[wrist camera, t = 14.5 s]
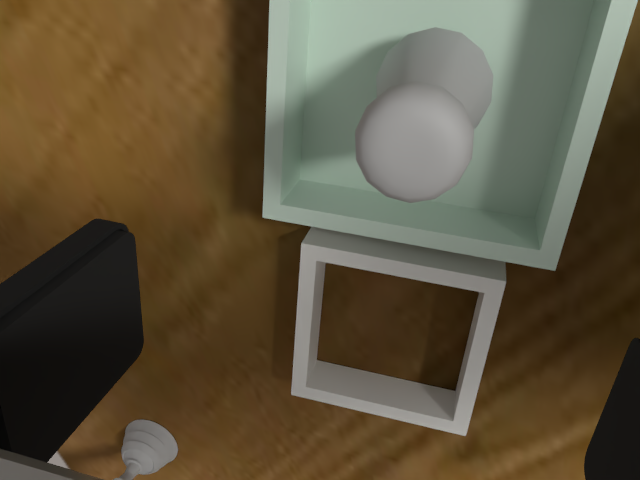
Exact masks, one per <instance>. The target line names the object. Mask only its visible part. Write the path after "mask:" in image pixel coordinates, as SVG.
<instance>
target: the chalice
mask: <svg viewBox="0 0 640 480" xmlns="http://www.w3.org/2000/svg"><path fill="white" fill-rule="evenodd" d="M177 452H178V447H177V443H176V441H175V439H174V437H173V436H172V435H171V434H170V433H169V431H168V430H167V429H165V428H164V427H162V426H161V425H159V424H157V423H155V422H152V421H149V420H143V419H142V420H135V421H133V422H131V423H129V424H128V426H127V427H126V430H125V437H124V440H123V446H122V450H121V453H122V459H123V462H124V463H125V465H126V466H127V468H126V471H125V473H124V474H123V475H122V476H120V477H119V478H115V479H113V480H133V478H134V477H135V476H136V475H137V474H143V475H145V474H151V473H154V472H157V471H158V470H159V469H160V468H162V467H164V466H165V465H166V464H167V463H168V462H171V461H173V460H174V459H175V457H176V456H177Z"/></svg>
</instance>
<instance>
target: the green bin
mask: <svg viewBox="0 0 640 480" xmlns="http://www.w3.org/2000/svg"><path fill="white" fill-rule="evenodd" d="M637 1H638V0H270V3H269V34H268V64H267V95H266V126H265V156H264V187H263V218H267V219H273V220H278V221H284V222H289V223H295V224H300V225H306V226H311V227H317V228H322V229H328V230H333V231H339V232H344V233H350V234H355V235H361V236H366V237H372V238H377V239H383V240H388V241H394V242H399V243H405V244H410V245H416V246H421V247H427V248H432V249H438V250H443V251H449V252H454V253H460V254H465V255H471V256H476V257H482V258H487V259H493V260H498V261H504V262H509V263H515V264H520V265H526V266H531V267H537V268H542V269H548V270H553V271H555V270H556V267H557V263H558V260H559V257H560V254H561V250H562V247H563V244H564V240H565V237H566V234H567V231H568V227H569V224H570V221H571V217H572V214H573V211H574V208H575V204H576V201H577V198H578V195H579V191H580V188H581V185H582V181H583V178H584V175H585V172H586V168H587V165H588V162H589V158H590V155H591V152H592V149H593V145H594V142H595V139H596V136H597V132H598V129H599V126H600V122H601V119H602V116H603V113H604V109H605V106H606V103H607V99H608V96H609V93H610V90H611V86H612V83H613V80H614V77H615V73H616V70H617V67H618V63H619V60H620V57H621V54H622V50H623V47H624V44H625V40H626V37H627V34H628V31H629V27H630V24H631V21H632V17H633V14H634V11H635V8H636V4H637ZM434 27H437V28H441V29H446V30H451V31H455V32H460V33H463V34H464V35H465V36H466V37H467V38H469V39H470V40H471V41H472V42H473V43H475V44H476V45H477V46H478V47H479V48H481V49H482V50H483V52H484V54H485V57H486V59H487V62H488V64H489V66H490V69H491V71H492V73H493V86H492V98H491V103H490V105H489V107H488V109H487V110H486V112H485V114H484V116H483V118H482V119H481V121H480V123H479V125H478V126H477V127H476V128H475V129H474V140H473V153H472V159H471V161H470V163H469V165H468V166H467V168H466V170H465V171H464V173H463V175H462V177H461V178H460V180H459V182H458V183H457V185H456V186H454V187H453V188H451V189H449V190H448V191H446V192H445V193H443V194H442V195H440V196H439V197H437V198H436V199H432V200H426V201H420V202H414V203H408V202H404V201H400V200H397V199H393V198H389V197H386V196H385V195H383V194H382V193H381V192H379V191H378V190H377V189H376V188H374V187H373V186H372V185H370V184H369V183H368V182H367V181H366V179H365V177H364V175H363V173H362V171H361V169H360V167H359V165H358V163H357V161H356V147H355V130H356V128H357V126H358V124H359V122H360V119H361V117H362V115H363V113H364V111H365V109H366V107H367V106H368V105H369V104H370V103H371V102H372V101H373V100H375V99H376V98H377V88H376V75H377V73H378V71H379V69H380V67H381V65H382V63H383V60H384V58H385V56H386V54H387V52H388V51H389V50H390V49H391V48H393V47H394V46H395V45H396V44H397V43H398V42H400V41H401V40H402V39H403V38H404V37H405V36H406V35H408V34H411V33H414V32H418V31H422V30H426V29H430V28H434Z"/></svg>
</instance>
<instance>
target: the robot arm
mask: <svg viewBox="0 0 640 480" xmlns="http://www.w3.org/2000/svg"><path fill="white" fill-rule="evenodd" d="M143 343H144V338H143V326H142V314H141V303H140V291H139V279H138V268H137V256H136V244H135V237H134V235H133V234H132V233H130V232H129V231H128V228H127V227H126V225H124V224H122V223H117V222H112V221H107V220H102V219H94V220H92V221H91V222H89V223H88V224H86V225H85V226H83V227H82V228H80V229H79V230H78V231H76V232H75V233H73V234H72V235H70V236H69V237H67V238H66V239H65V240H63V241H62V242H60V243H59V244H57V245H56V246H55V247H53V248H52V249H50V250H49V251H47V252H46V253H44V254H43V255H42V256H40V257H39V258H37V259H36V260H34V261H33V262H31V263H30V264H29V265H27V266H26V267H24V268H23V269H21V270H20V271H18V272H17V273H16V274H14V275H13V276H11V277H10V278H8V279H7V280H5V281H4V282H3V283H1V284H0V480H103V479H100V478H97V477H93V476H90V475H87V474H83V473H80V472H77V471H73V470H70V469H66V468H63V467H60V466H56V465H53V464H49V463H47V462H48V461H49V459H50V458H51V457H52V456H53V455H54V454H55V453H56V451H57V450H58V449H59V448H60V447H61V446H62V445H63V443H64V442H65V441H66V440H67V439H68V438H69V436H70V435H71V434H72V433H73V432H74V431H75V430H76V428H77V427H78V426H79V425H80V424H81V423H82V421H83V420H84V419H85V418H86V417H87V416H88V415H89V413H90V412H91V411H92V410H93V409H94V408H95V406H96V405H97V404H98V403H99V402H100V401H101V400H102V398H103V397H104V396H105V395H106V394H107V393H108V391H109V390H110V389H111V388H112V387H113V386H114V385H115V383H116V382H117V381H118V380H119V379H120V378H121V376H122V375H123V374H124V373H125V372H126V371H127V370H128V368H129V367H130V366H131V365H132V364H133V363H134V361H135V360H136V359H137V358H138V356H139V355H140V353H141V351H142V348H143ZM584 471H585V479H586V480H640V339H638V338H634V339H633V340H632V341H631V343H630V345H629V347H628V350H627V352H626V355H625V357H624V360H623V362H622V365H621V367H620V370H619V372H618V375H617V377H616V380H615V382H614V384H613V387H612V389H611V392H610V394H609V397H608V399H607V402H606V404H605V407H604V409H603V412H602V414H601V417H600V419H599V422H598V424H597V426H596V429H595V431H594V434H593V436H592V439H591V441H590V444H589V446H588V449H587V452H586V456H585V463H584Z"/></svg>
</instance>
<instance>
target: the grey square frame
mask: <svg viewBox="0 0 640 480" xmlns="http://www.w3.org/2000/svg"><path fill="white" fill-rule="evenodd" d="M326 263H331V264H336V265H342V266H347V267H352V268H357V269H362V270H368V271H373V272H378V273H383V274H388V275H393V276H399V277H404V278H409V279H414V280H419V281H425V282H430V283H435V284H440V285H445V286H451V287H456V288H461V289H466V290H471V291H477V292H479V295H478V299H477V303H476V307H475V311H474V316H473V320H472V324H471V328H470V332H469V336H468V341H467V345H466V349H465V353H464V357H463V361H462V366H461V370H460V374H459V378H458V382H457V387H456V391H453V390H448V389H444V388H440V387H435V386H431V385H426V384H422V383H417V382H413V381H408V380H404V379H399V378H395V377H390V376H386V375H382V374H377V373H373V372H368V371H364V370H359V369H355V368H350V367H346V366H341V365H337V364H332V363H328V362H324V361H319V360H317V352H318V341H319V330H320V319H321V308H322V298H323V287H324V276H325V265H326ZM505 285H506V265H505V262H504V261H498V260H493V259H487V258H482V257H476V256H471V255H465V254H460V253H454V252H449V251H443V250H438V249H432V248H427V247H421V246H416V245H410V244H405V243H399V242H394V241H388V240H383V239H377V238H372V237H366V236H361V235H355V234H350V233H344V232H339V231H333V230H328V229H322V228H317V227H311V228H310V230H309V232H308V233H307V235H306V236H305V238H304V240H303V241H302V243H301V256H300V271H299V286H298V300H297V315H296V329H295V344H294V359H293V373H292V388H291V395H294V396H299V397H303V398H307V399H311V400H315V401H320V402H324V403H328V404H332V405H336V406H341V407H345V408H349V409H353V410H358V411H362V412H366V413H370V414H374V415H379V416H383V417H387V418H391V419H395V420H400V421H404V422H408V423H412V424H417V425H421V426H425V427H429V428H433V429H438V430H442V431H446V432H450V433H455V434H459V435H463V436H466V434H467V430H468V426H469V422H470V418H471V415H472V411H473V407H474V403H475V399H476V395H477V392H478V388H479V384H480V380H481V376H482V373H483V369H484V365H485V361H486V357H487V354H488V350H489V346H490V342H491V338H492V335H493V331H494V327H495V323H496V319H497V315H498V312H499V308H500V304H501V300H502V296H503V293H504V289H505Z"/></svg>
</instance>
